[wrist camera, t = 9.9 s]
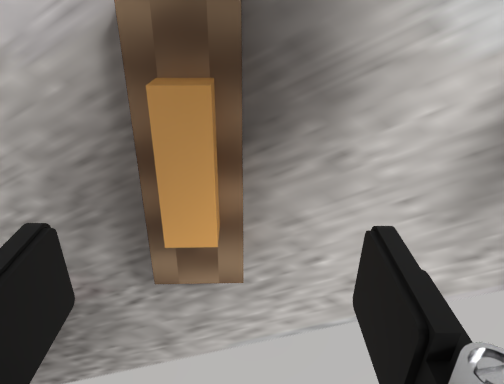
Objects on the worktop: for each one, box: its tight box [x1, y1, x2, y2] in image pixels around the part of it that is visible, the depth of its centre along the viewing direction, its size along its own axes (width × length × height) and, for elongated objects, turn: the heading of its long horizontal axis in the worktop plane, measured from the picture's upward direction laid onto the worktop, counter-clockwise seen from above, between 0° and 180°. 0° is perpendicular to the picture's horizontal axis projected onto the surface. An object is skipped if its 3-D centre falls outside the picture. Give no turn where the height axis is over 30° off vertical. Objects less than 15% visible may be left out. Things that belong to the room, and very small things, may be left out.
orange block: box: [146, 78, 220, 248], centre depth 28 cm, size 12×4×7 cm, turn 0°
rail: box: [114, 0, 243, 284], centre depth 30 cm, size 24×8×4 cm, turn 0°
